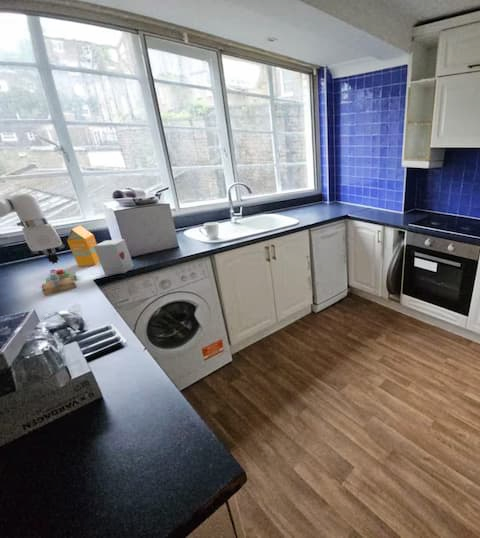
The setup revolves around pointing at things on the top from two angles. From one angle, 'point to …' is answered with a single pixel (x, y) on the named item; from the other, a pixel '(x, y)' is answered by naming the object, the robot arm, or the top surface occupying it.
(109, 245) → the white product box
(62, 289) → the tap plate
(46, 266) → the top surface
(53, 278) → the grey tan flat block
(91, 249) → the orange juice
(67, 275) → the button box
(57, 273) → the button
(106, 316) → the top surface
